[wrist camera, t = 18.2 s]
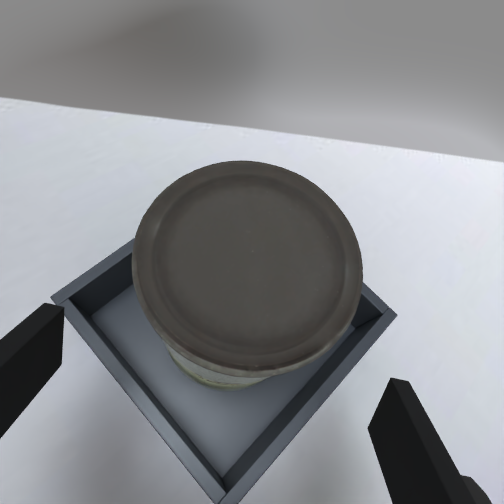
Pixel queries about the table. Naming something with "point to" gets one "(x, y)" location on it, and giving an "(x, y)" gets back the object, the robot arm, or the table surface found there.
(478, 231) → the table surface
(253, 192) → the coffee can
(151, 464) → the table surface
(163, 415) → the grey bin
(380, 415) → the robot arm
